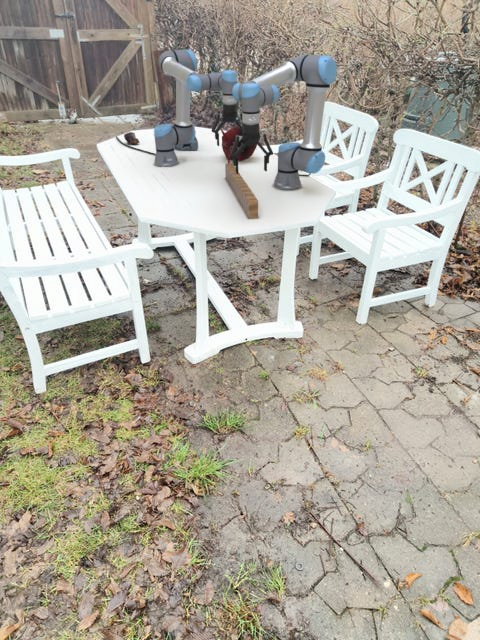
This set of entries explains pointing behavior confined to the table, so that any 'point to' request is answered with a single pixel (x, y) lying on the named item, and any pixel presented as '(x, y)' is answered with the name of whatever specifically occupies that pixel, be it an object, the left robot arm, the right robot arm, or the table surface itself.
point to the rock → (131, 138)
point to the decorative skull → (229, 141)
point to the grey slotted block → (188, 145)
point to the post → (242, 191)
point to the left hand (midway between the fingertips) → (230, 144)
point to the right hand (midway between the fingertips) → (251, 171)
